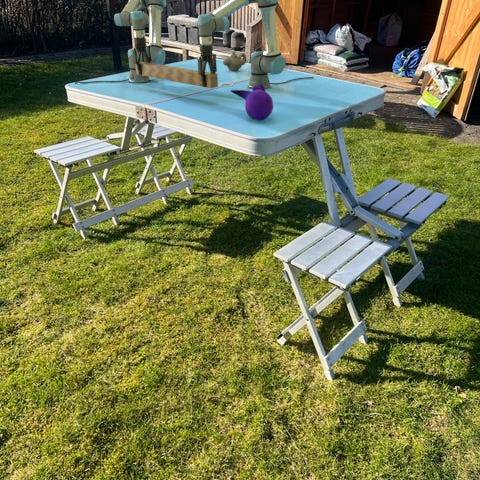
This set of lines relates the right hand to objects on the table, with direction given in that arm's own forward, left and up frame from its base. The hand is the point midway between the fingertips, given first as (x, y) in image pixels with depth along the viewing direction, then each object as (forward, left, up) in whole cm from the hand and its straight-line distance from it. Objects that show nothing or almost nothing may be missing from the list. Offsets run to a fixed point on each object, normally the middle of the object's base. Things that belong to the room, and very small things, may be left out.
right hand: (208, 85), depth 271 cm
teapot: (-95, -52, -10) cm, 108 cm away
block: (-3, -32, 0) cm, 32 cm away
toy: (+12, +42, -10) cm, 45 cm away
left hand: (-7, -64, 0) cm, 64 cm away
